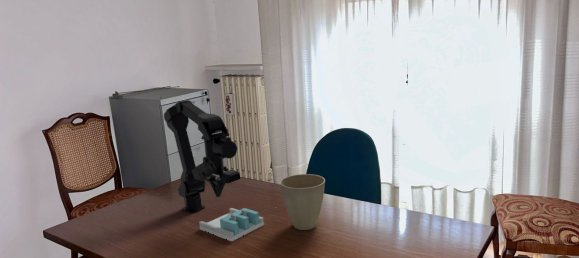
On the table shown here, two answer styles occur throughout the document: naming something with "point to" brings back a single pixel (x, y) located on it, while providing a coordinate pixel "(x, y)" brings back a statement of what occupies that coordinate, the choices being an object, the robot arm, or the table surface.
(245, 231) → the board
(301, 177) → the plant pot
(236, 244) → the table surface
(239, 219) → the teal notched block
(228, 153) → the robot arm
